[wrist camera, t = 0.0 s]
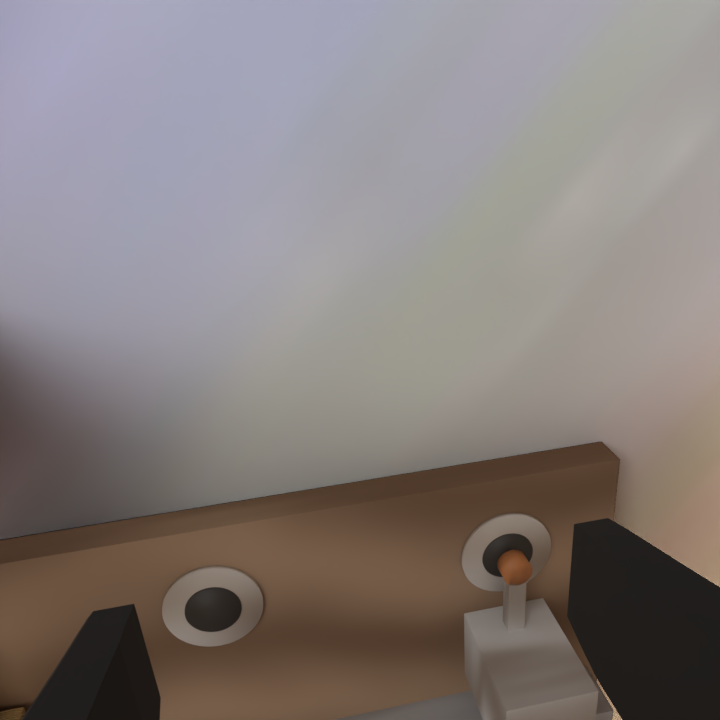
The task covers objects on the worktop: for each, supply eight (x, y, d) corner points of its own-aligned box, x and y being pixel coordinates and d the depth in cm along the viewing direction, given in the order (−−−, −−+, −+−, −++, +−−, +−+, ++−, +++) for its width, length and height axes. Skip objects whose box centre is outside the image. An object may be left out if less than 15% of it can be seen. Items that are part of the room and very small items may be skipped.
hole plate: (581, 665, 27) (653, 787, 22) (-79, 805, 24) (-157, 983, 19) (601, 441, 23) (696, 534, 18) (-206, 574, 19) (-348, 731, 15)
